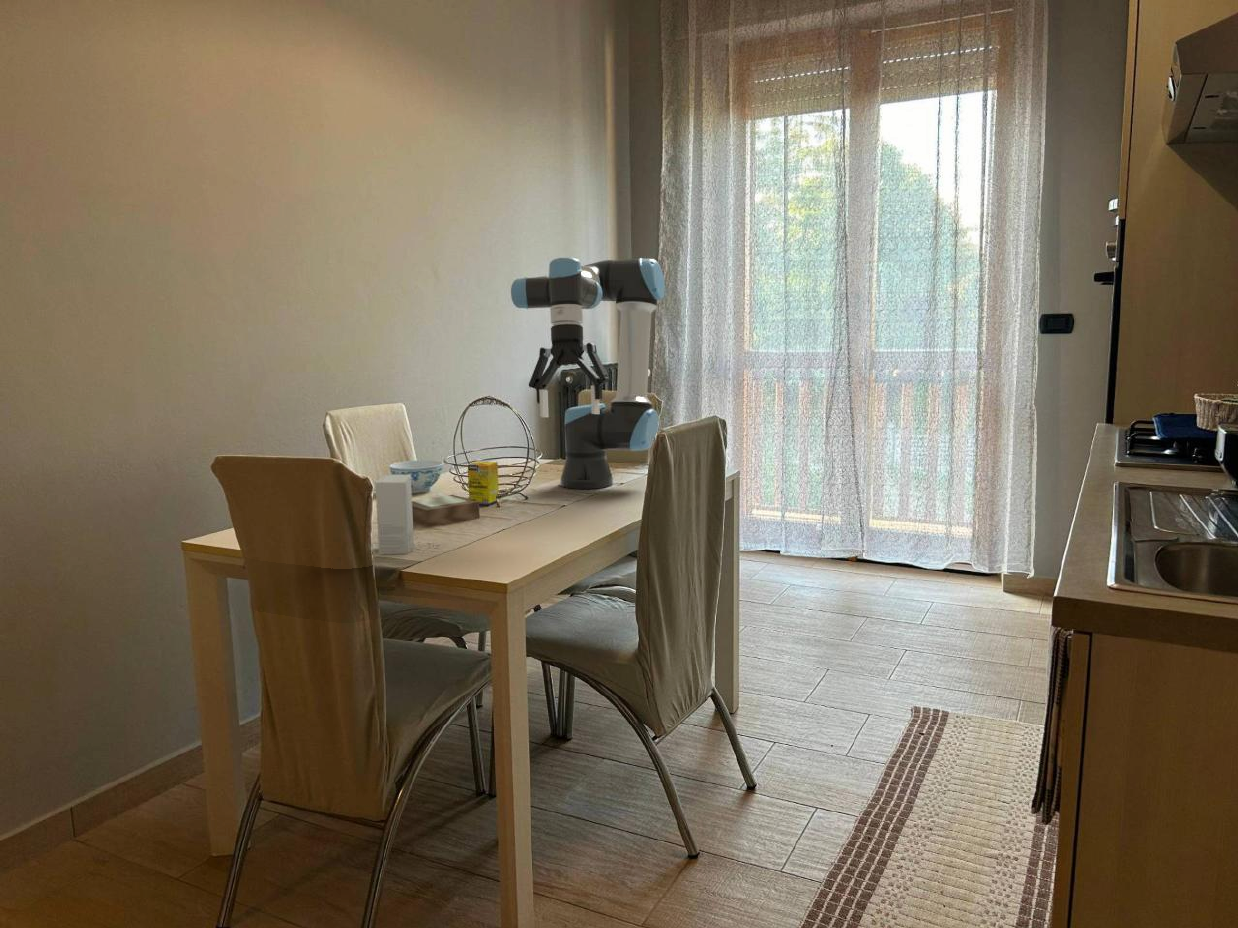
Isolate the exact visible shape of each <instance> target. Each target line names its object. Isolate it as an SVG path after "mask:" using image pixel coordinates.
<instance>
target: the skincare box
mask: <svg viewBox="0 0 1238 928" xmlns="http://www.w3.org/2000/svg"><path fill="white" fill-rule="evenodd" d="M412 494H413V493H412V490H411V475H410V474H409V475H392V474H384V475H383V474H382V475H381V476H380V477H379V479H377V480H376V482H375V495H376V497H375V499H376V515H377V516H376V518H377V519H376V520H377V539H378V540H377V541H378V555H379V556H385V555H387V556H388V555H389V554H390V555H409V554H410V552H411V550H412V548H413V546H414V544H415V542H414V541H415V540H414V538H415V537H414V522H413V513H412V501H413V495H412ZM390 555H389V556H390Z"/></svg>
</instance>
